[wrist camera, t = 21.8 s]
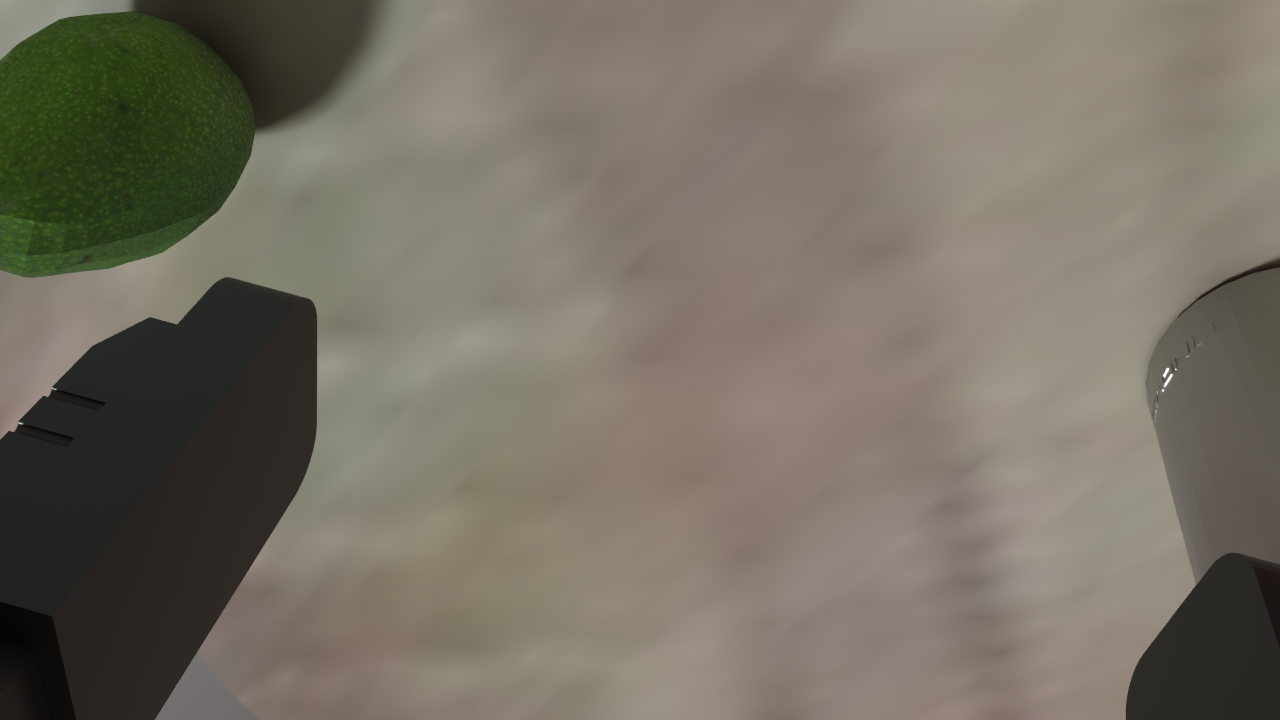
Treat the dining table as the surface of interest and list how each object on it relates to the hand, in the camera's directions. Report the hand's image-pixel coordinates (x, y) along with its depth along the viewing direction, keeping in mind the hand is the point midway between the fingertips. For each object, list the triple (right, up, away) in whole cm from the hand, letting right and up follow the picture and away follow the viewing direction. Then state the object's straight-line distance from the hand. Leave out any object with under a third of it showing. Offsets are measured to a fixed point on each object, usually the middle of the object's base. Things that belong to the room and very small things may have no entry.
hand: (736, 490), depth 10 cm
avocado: (-17, +12, +32) cm, 38 cm away
